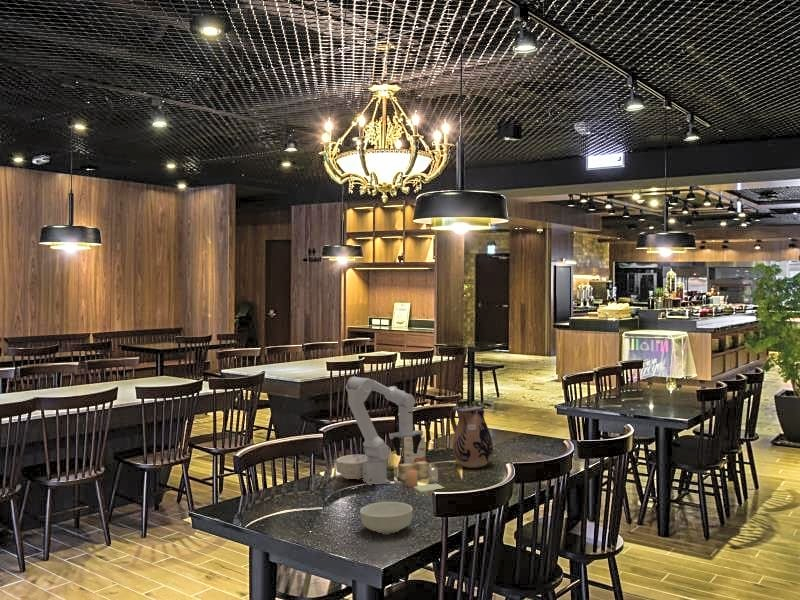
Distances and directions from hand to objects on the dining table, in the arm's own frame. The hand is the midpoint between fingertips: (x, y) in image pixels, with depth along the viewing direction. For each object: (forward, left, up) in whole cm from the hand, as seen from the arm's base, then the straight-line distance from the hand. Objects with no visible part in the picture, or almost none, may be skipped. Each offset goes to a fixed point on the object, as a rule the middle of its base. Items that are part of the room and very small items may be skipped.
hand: (406, 454), depth 299 cm
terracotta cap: (-5, -17, -8) cm, 20 cm away
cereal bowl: (-33, -61, -9) cm, 70 cm away
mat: (-1, -24, -8) cm, 25 cm away
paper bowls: (-21, +6, -9) cm, 23 cm away
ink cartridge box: (+11, +17, -9) cm, 22 cm away
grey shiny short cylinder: (+4, -17, -8) cm, 19 cm away
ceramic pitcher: (+30, +1, -9) cm, 31 cm away
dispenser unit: (0, -7, -8) cm, 11 cm away
